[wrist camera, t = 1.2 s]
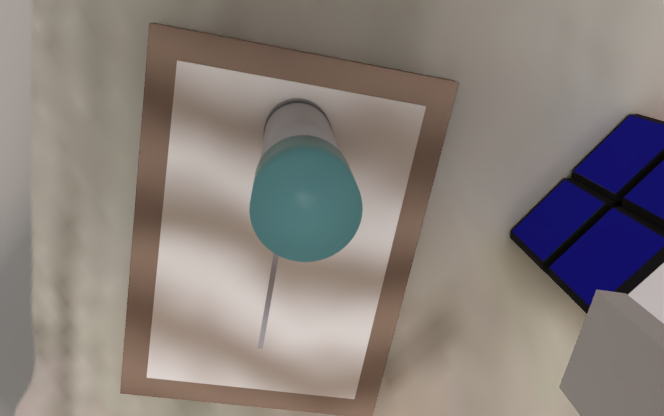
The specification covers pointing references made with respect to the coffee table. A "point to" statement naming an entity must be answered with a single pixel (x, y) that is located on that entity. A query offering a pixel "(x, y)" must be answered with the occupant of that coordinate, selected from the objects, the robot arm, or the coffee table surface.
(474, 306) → the coffee table surface
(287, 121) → the marker
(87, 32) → the coffee table surface
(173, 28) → the writing board
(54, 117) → the coffee table surface
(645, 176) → the puzzle cube
